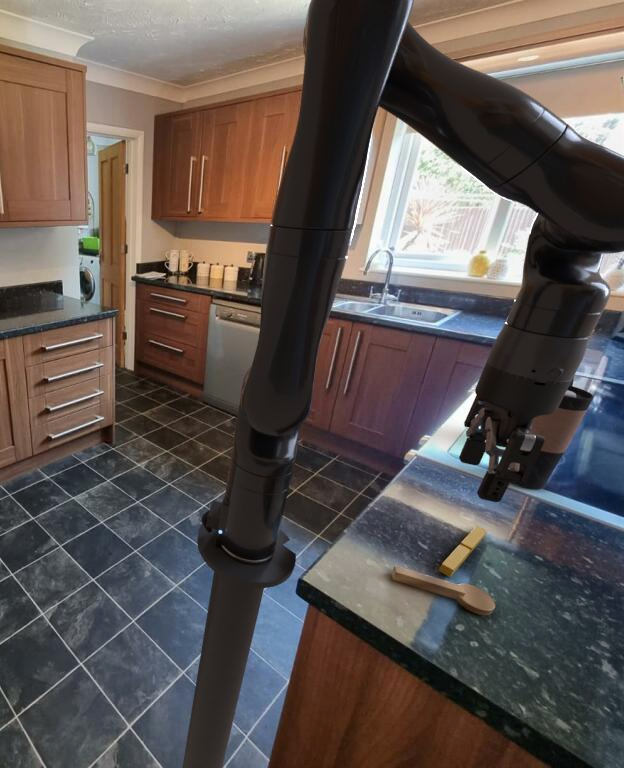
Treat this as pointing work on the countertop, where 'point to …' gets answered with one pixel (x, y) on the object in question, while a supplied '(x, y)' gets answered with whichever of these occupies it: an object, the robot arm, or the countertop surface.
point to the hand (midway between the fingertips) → (477, 479)
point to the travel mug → (556, 435)
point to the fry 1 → (454, 560)
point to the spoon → (448, 590)
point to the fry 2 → (474, 538)
